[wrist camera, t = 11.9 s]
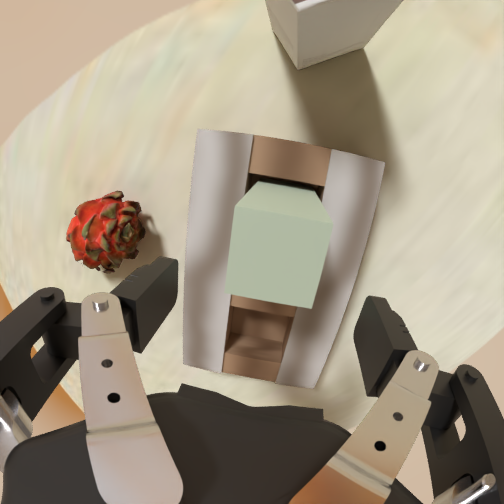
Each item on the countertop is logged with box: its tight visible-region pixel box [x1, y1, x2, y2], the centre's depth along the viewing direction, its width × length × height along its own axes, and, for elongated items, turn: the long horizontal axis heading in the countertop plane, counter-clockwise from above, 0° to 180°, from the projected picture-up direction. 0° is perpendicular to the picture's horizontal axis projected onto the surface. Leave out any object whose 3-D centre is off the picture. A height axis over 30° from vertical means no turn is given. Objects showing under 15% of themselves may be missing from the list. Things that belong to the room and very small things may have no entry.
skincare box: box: [265, 0, 403, 70], centre depth 15 cm, size 8×6×15 cm
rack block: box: [183, 129, 385, 389], centre depth 29 cm, size 16×26×5 cm, turn 172°
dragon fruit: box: [66, 191, 145, 273], centre depth 29 cm, size 8×8×12 cm
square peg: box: [224, 178, 333, 309], centre depth 21 cm, size 5×5×14 cm
